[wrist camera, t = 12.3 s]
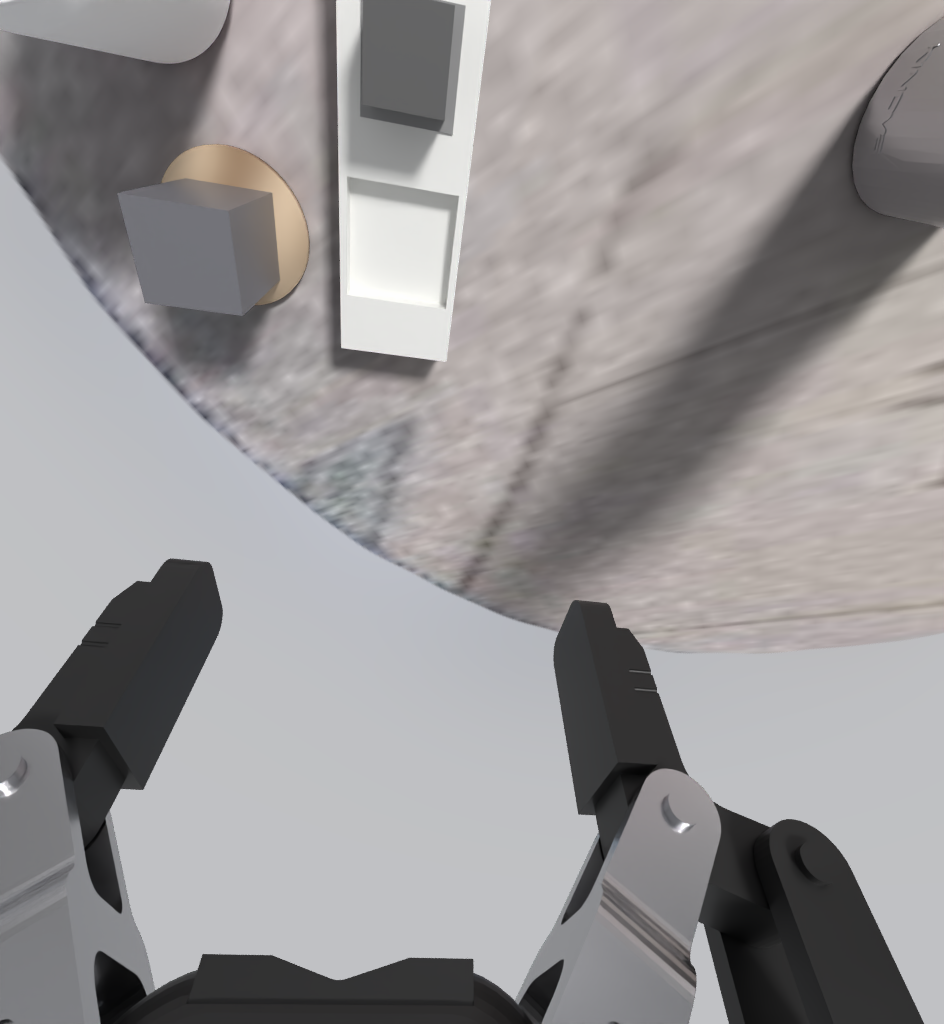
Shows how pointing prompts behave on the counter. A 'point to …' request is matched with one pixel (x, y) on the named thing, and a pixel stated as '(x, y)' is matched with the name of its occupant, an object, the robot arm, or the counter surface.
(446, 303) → the power strip
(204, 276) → the block
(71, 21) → the beverage can
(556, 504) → the counter surface
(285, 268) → the coaster
